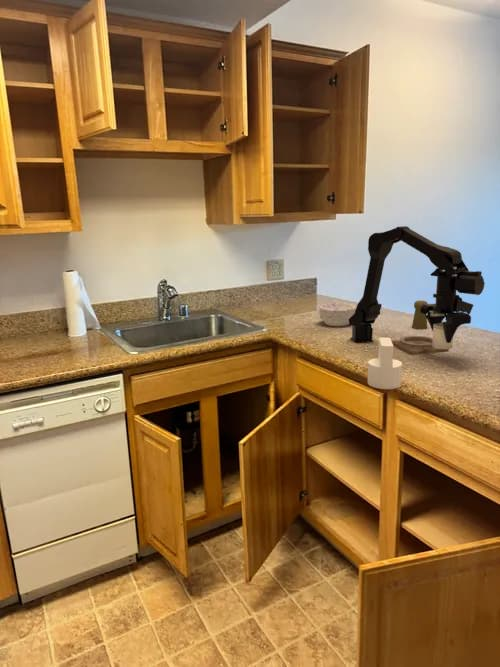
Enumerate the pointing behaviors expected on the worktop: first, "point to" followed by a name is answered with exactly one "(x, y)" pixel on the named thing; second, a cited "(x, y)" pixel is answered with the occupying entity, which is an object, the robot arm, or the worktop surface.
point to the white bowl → (336, 313)
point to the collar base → (415, 351)
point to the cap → (440, 337)
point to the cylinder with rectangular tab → (384, 367)
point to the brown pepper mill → (419, 316)
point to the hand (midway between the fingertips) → (442, 340)
